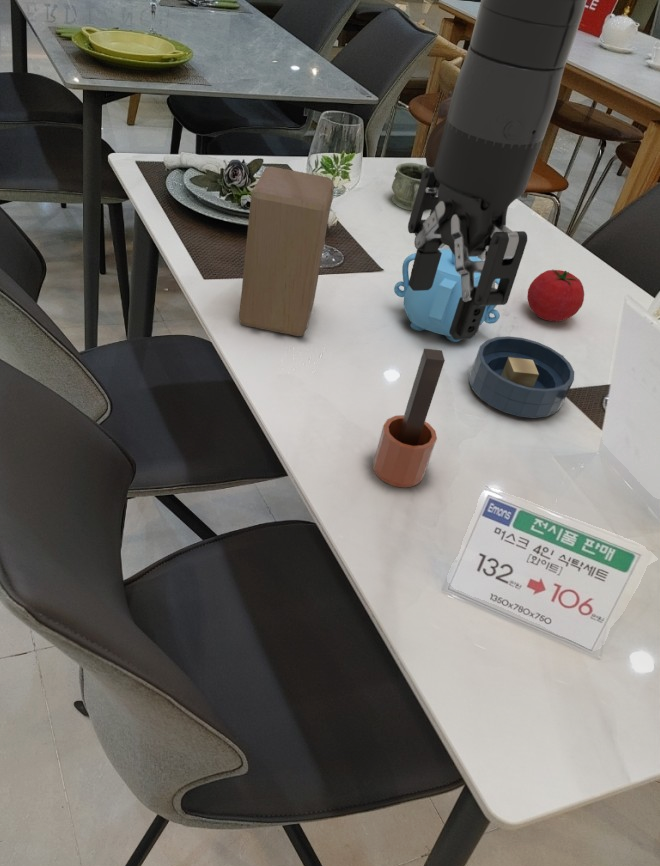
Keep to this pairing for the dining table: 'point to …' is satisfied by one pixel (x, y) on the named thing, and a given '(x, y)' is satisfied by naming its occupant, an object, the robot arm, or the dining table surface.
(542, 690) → the dining table surface
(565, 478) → the dining table surface
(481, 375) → the bowl
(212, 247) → the dining table surface
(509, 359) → the block
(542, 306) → the tomato
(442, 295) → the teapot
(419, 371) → the stick
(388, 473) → the holder
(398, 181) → the vessel
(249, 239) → the wooden block
